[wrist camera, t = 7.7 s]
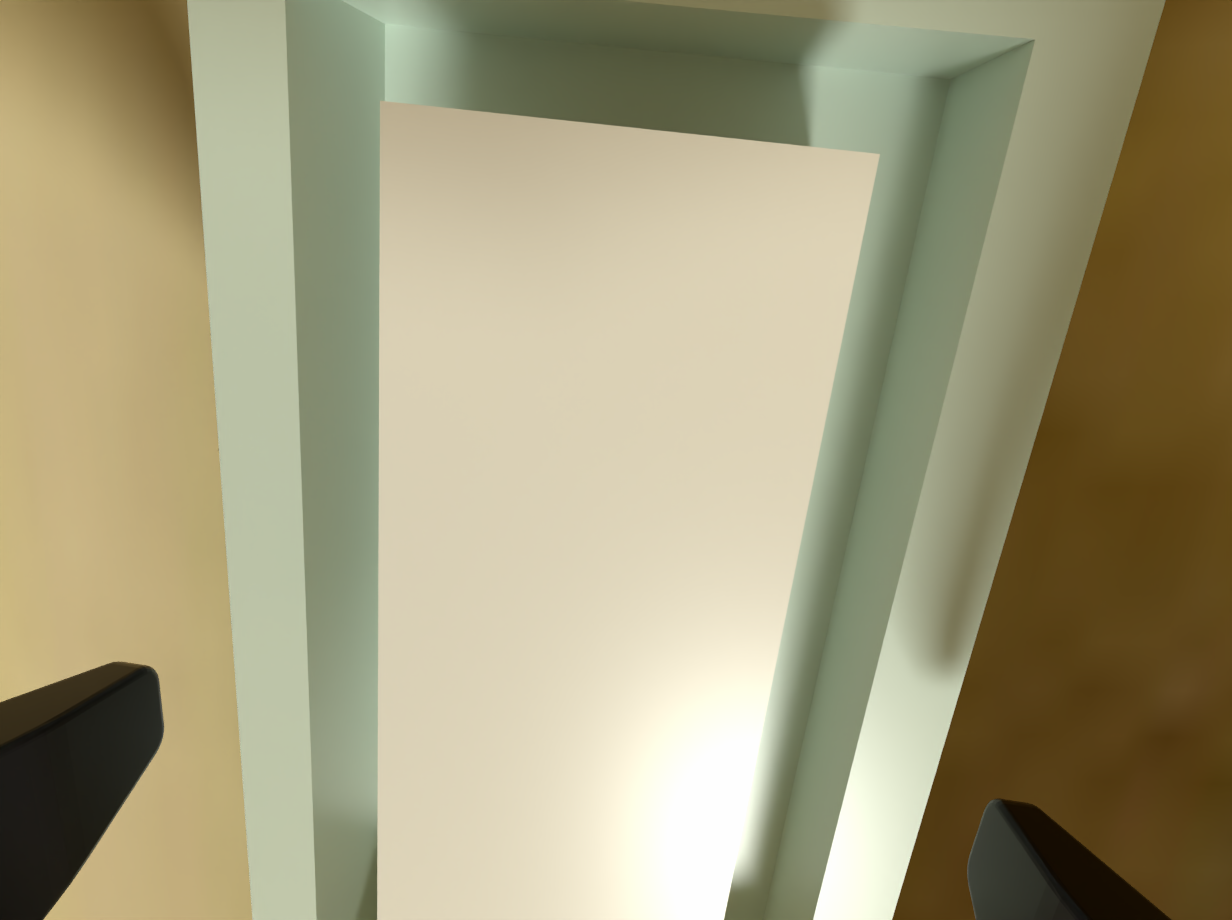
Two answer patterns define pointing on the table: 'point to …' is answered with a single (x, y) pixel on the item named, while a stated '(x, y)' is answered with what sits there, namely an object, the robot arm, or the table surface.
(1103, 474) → the table surface
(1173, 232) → the table surface
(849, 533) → the trough
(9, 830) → the robot arm
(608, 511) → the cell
